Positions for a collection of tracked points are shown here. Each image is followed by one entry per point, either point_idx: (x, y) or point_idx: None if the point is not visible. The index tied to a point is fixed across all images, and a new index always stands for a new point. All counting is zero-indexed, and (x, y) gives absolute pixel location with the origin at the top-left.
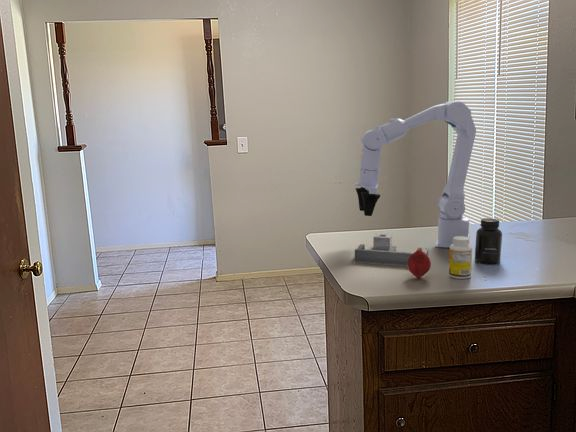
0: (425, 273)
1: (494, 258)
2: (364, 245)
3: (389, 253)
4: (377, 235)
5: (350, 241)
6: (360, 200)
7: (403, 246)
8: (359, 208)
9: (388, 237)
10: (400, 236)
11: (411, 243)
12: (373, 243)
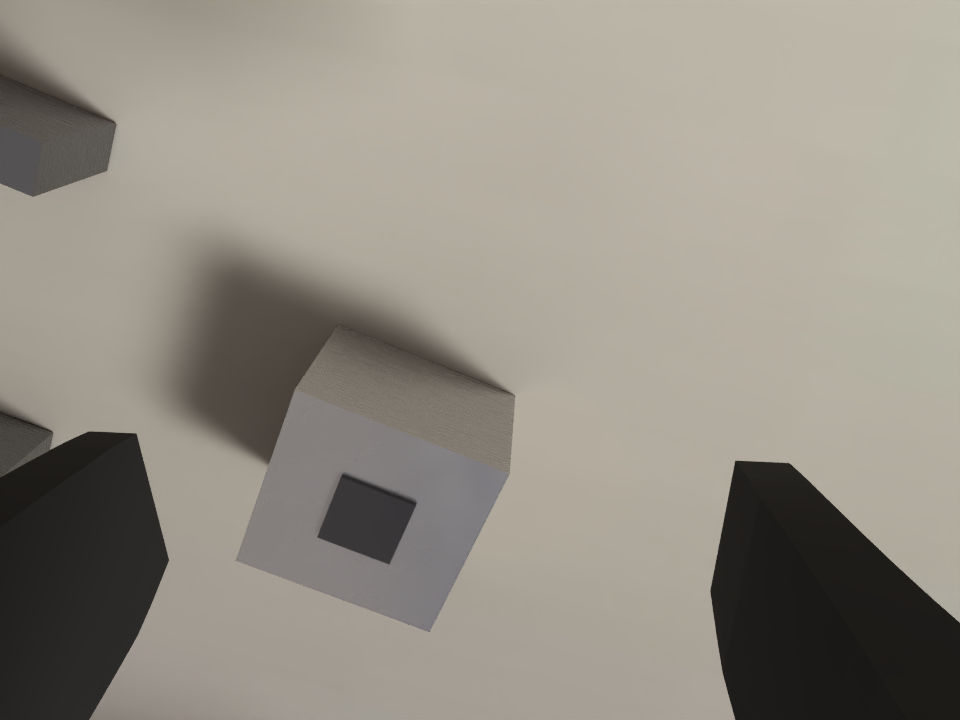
0: None
1: None
2: (28, 189)
3: None
4: (384, 459)
5: (790, 121)
6: (850, 699)
7: None
8: (793, 482)
9: (262, 552)
10: None
11: (527, 716)
12: (320, 352)
